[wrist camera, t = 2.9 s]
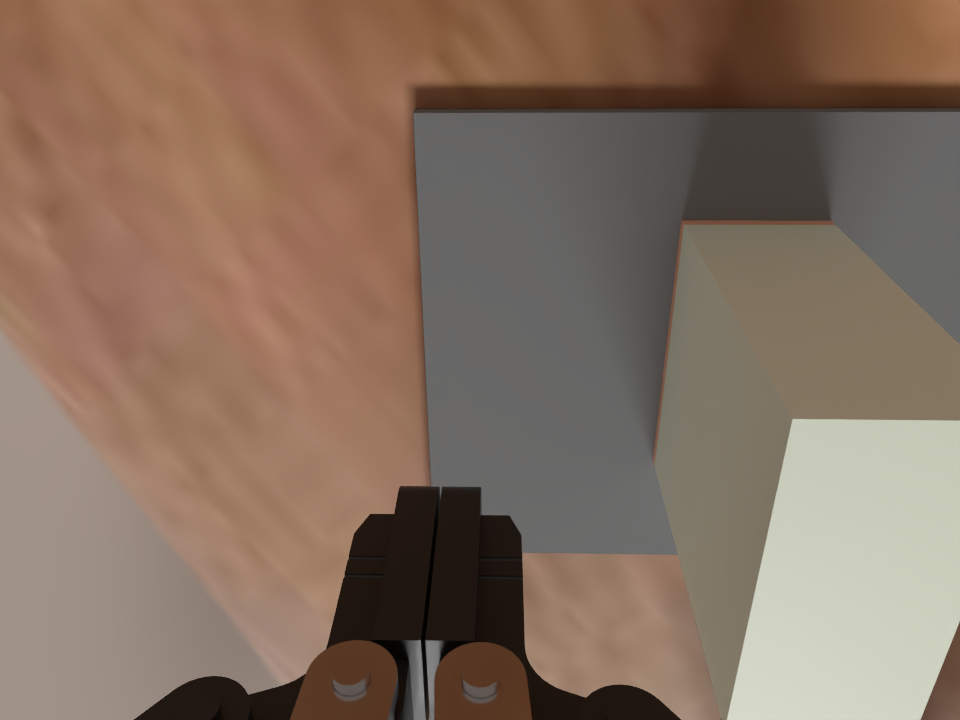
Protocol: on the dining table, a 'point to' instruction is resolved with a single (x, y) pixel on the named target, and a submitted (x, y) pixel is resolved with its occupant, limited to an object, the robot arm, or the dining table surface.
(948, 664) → the dining table surface
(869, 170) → the mat
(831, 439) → the cream block
